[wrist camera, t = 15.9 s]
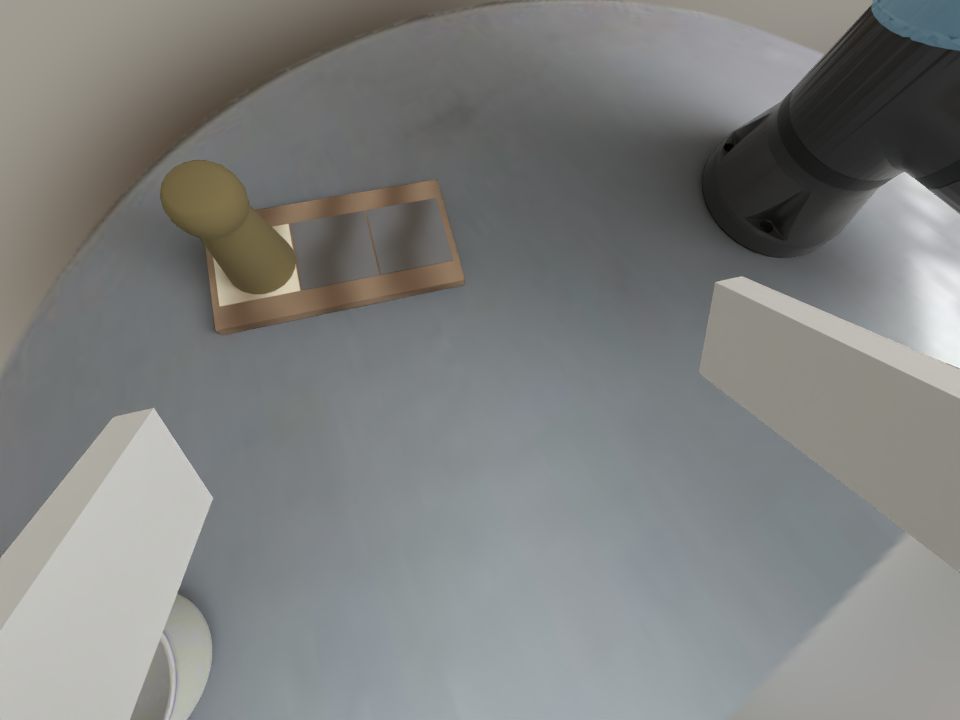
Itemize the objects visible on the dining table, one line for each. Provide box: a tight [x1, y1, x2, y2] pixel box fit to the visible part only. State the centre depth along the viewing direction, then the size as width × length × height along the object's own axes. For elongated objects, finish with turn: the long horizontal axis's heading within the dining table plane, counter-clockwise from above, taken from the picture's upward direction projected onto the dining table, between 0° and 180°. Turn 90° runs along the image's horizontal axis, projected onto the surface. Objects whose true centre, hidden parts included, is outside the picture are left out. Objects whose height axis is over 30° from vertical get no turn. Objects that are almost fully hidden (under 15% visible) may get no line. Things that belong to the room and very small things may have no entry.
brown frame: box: [205, 179, 465, 335], centre depth 40 cm, size 22×11×1 cm, turn 105°
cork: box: [160, 160, 296, 294], centre depth 33 cm, size 6×6×11 cm
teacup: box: [130, 594, 212, 720], centre depth 27 cm, size 14×11×8 cm
